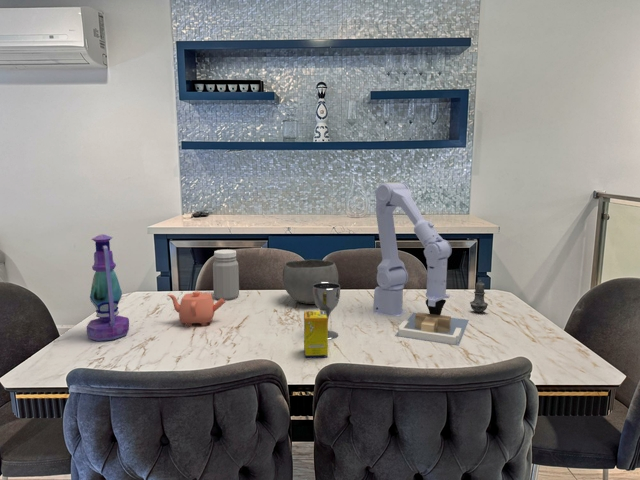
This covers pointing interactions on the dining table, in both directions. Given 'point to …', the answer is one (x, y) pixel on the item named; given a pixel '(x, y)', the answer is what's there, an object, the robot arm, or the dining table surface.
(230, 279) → the jar
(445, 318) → the t block
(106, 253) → the lantern
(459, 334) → the dock
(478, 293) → the salt shaker
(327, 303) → the silver goblet
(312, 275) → the bowl
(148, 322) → the dining table surface
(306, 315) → the supplement box
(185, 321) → the teapot
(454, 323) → the board
